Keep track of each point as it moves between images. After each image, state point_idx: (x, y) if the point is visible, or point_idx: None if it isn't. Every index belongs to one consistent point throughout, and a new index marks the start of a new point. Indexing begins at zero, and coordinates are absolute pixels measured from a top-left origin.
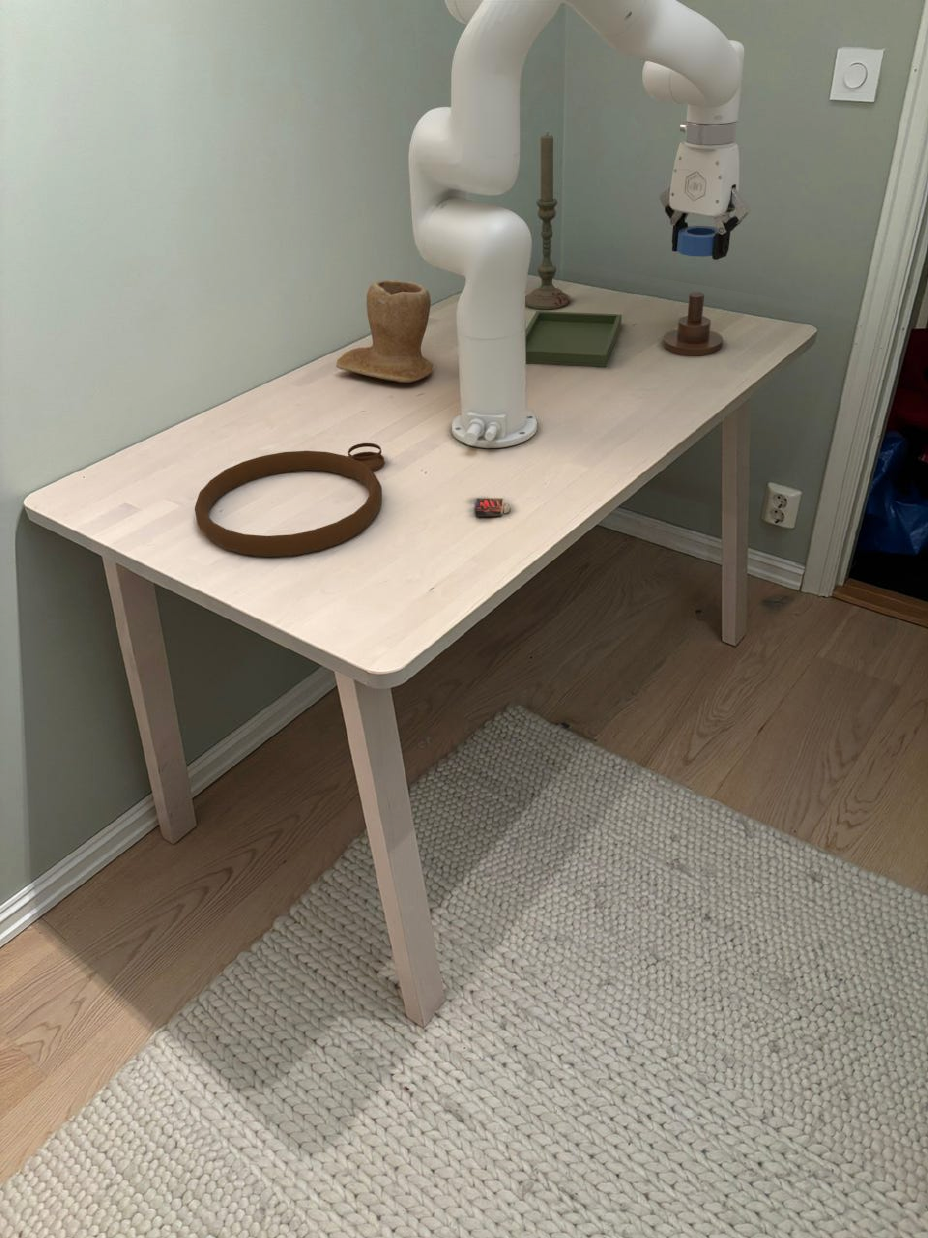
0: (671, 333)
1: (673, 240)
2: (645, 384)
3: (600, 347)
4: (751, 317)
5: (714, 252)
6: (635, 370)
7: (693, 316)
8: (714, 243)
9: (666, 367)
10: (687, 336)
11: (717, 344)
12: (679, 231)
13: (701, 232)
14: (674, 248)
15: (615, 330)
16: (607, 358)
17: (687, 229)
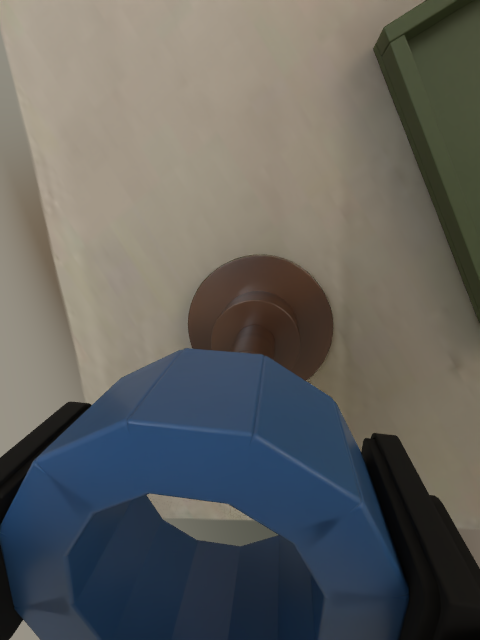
0: (320, 328)
1: (412, 480)
2: (213, 17)
3: (455, 146)
4: (240, 519)
5: (56, 420)
6: (288, 88)
7: (246, 330)
8: (19, 459)
9: (233, 161)
10: (250, 294)
11: (189, 324)
12: (365, 525)
13: (250, 637)
14: (378, 439)
15: (461, 231)
16: (388, 72)
17: (331, 610)
